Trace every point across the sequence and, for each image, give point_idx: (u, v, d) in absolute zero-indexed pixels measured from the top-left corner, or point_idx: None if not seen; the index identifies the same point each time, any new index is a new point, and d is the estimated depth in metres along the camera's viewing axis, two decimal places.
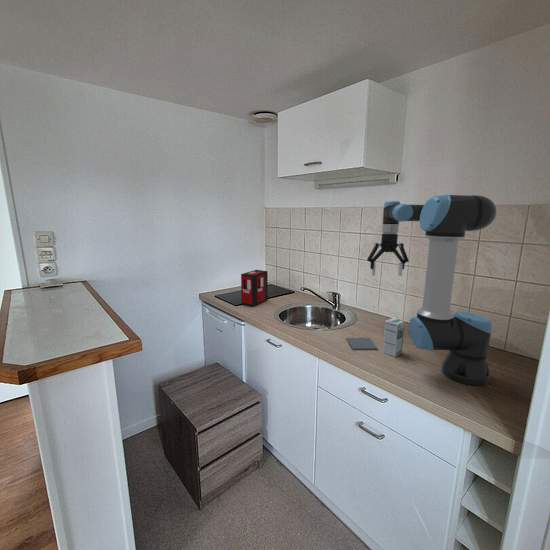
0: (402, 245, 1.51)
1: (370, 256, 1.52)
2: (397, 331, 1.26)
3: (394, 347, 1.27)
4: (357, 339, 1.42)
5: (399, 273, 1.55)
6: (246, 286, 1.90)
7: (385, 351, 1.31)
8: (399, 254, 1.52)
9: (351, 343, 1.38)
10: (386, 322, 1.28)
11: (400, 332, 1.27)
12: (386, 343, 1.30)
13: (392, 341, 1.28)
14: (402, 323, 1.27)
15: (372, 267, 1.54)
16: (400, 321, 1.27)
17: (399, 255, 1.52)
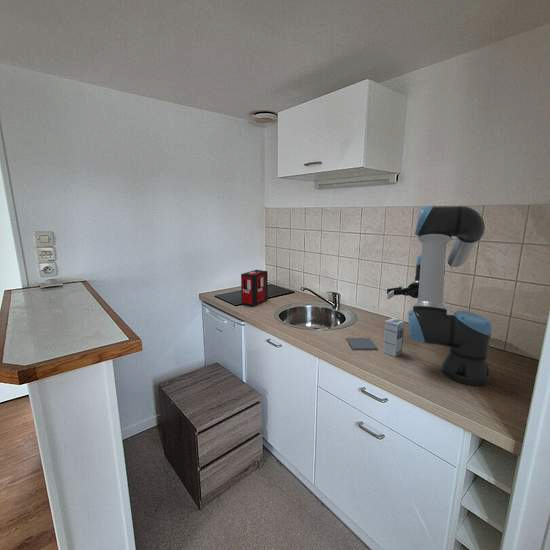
0: None
1: (390, 288, 1.47)
2: (397, 331, 1.26)
3: (394, 347, 1.27)
4: (357, 339, 1.42)
5: None
6: (246, 286, 1.90)
7: (385, 351, 1.31)
8: None
9: (351, 343, 1.38)
10: (386, 322, 1.28)
11: (400, 332, 1.27)
12: (386, 343, 1.30)
13: (392, 341, 1.28)
14: (402, 323, 1.27)
15: None
16: (400, 321, 1.27)
17: None
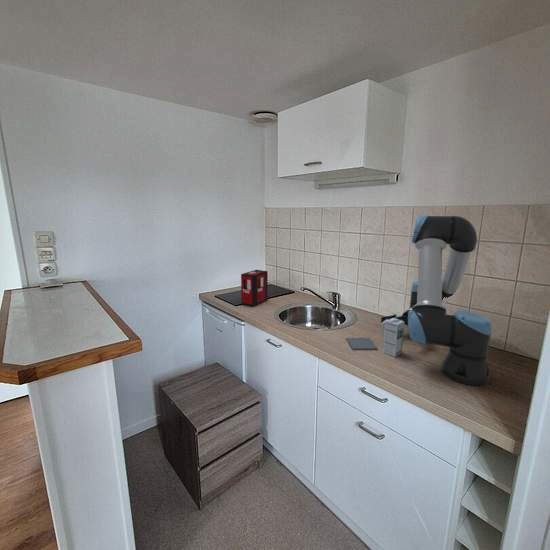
0: None
1: None
2: (398, 331, 1.26)
3: (394, 347, 1.27)
4: (357, 339, 1.42)
5: None
6: (246, 286, 1.90)
7: (385, 351, 1.31)
8: None
9: (351, 343, 1.38)
10: (386, 322, 1.28)
11: (400, 332, 1.27)
12: (386, 343, 1.30)
13: (392, 342, 1.28)
14: (402, 323, 1.27)
15: (383, 321, 1.42)
16: (400, 321, 1.27)
17: None
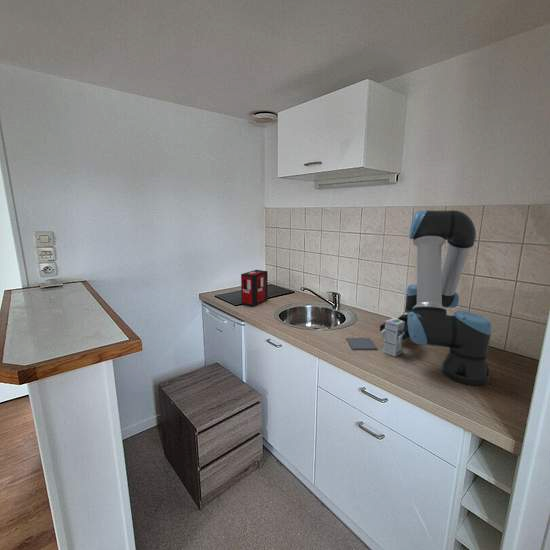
0: None
1: (382, 324, 1.37)
2: (398, 331, 1.26)
3: (394, 346, 1.27)
4: (357, 339, 1.42)
5: None
6: (246, 286, 1.90)
7: (385, 351, 1.31)
8: (407, 328, 1.32)
9: (351, 343, 1.38)
10: (386, 322, 1.28)
11: (401, 332, 1.27)
12: (386, 343, 1.30)
13: (392, 341, 1.27)
14: (402, 323, 1.27)
15: (382, 330, 1.31)
16: (400, 321, 1.27)
17: (406, 328, 1.32)
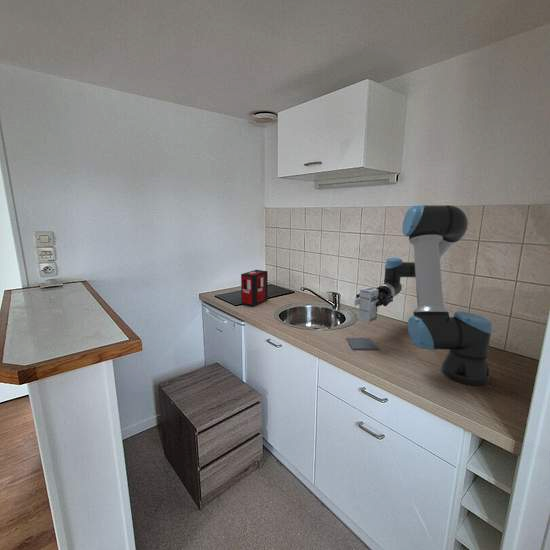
0: (391, 296, 1.38)
1: None
2: (371, 298, 1.31)
3: (368, 313, 1.32)
4: (357, 339, 1.42)
5: None
6: (246, 286, 1.90)
7: (360, 318, 1.36)
8: (382, 297, 1.37)
9: (351, 343, 1.38)
10: (361, 290, 1.33)
11: (374, 300, 1.32)
12: (360, 310, 1.35)
13: (366, 308, 1.33)
14: (376, 291, 1.32)
15: None
16: (374, 289, 1.32)
17: (381, 297, 1.36)
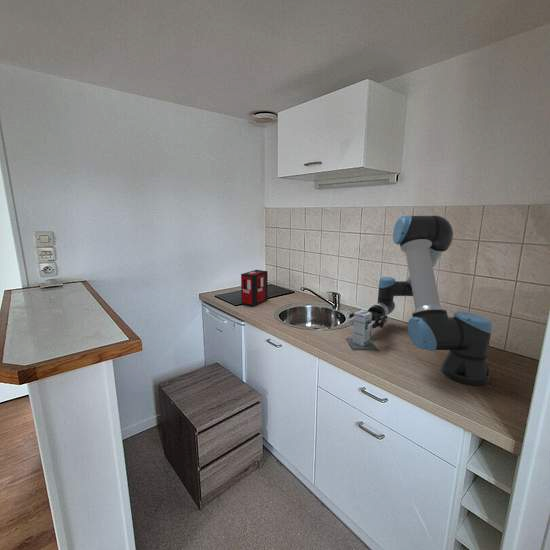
0: (385, 316, 1.41)
1: (352, 313, 1.45)
2: (365, 322, 1.33)
3: (362, 337, 1.34)
4: None
5: None
6: (246, 286, 1.90)
7: (354, 341, 1.38)
8: (377, 317, 1.39)
9: (351, 343, 1.38)
10: (355, 314, 1.36)
11: (368, 323, 1.35)
12: (355, 334, 1.37)
13: (360, 332, 1.35)
14: (370, 314, 1.35)
15: (350, 318, 1.39)
16: (368, 313, 1.35)
17: (376, 318, 1.39)
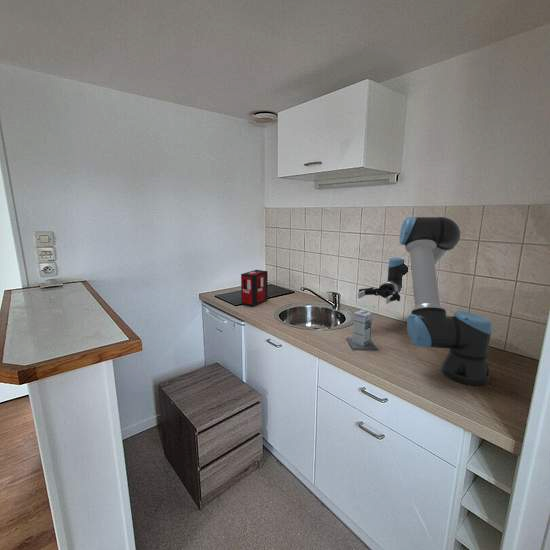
0: (397, 291, 1.50)
1: None
2: (365, 322, 1.33)
3: (362, 337, 1.34)
4: None
5: None
6: (246, 286, 1.90)
7: (354, 341, 1.38)
8: (391, 292, 1.48)
9: (351, 343, 1.38)
10: (355, 314, 1.36)
11: (368, 323, 1.35)
12: (355, 334, 1.37)
13: (360, 332, 1.35)
14: (369, 314, 1.35)
15: (360, 292, 1.51)
16: (368, 313, 1.35)
17: (391, 293, 1.47)
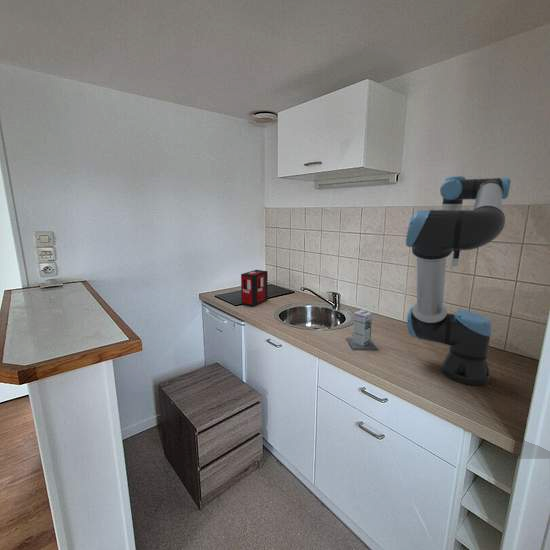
0: None
1: None
2: (365, 322, 1.33)
3: (362, 337, 1.34)
4: None
5: None
6: (246, 286, 1.90)
7: (354, 341, 1.38)
8: None
9: (351, 343, 1.38)
10: (355, 314, 1.36)
11: (368, 323, 1.35)
12: (355, 334, 1.37)
13: (360, 332, 1.35)
14: (369, 314, 1.35)
15: None
16: (368, 313, 1.35)
17: None
